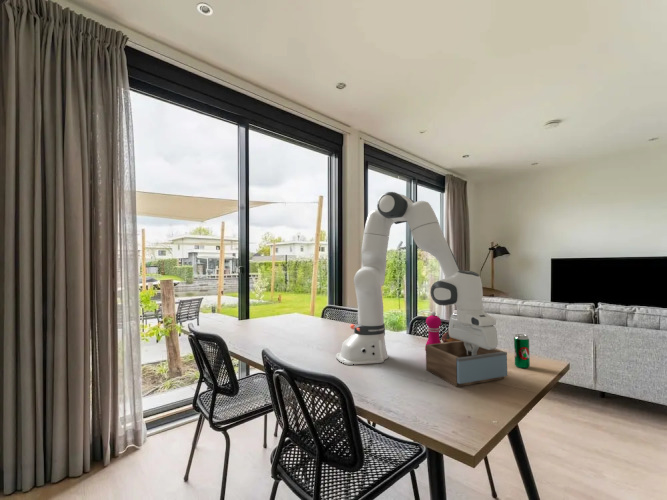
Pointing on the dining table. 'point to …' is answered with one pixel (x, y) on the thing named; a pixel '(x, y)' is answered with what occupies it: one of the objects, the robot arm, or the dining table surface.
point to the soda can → (521, 351)
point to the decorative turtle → (448, 338)
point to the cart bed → (450, 360)
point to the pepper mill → (433, 329)
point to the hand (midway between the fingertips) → (471, 355)
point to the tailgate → (481, 367)
